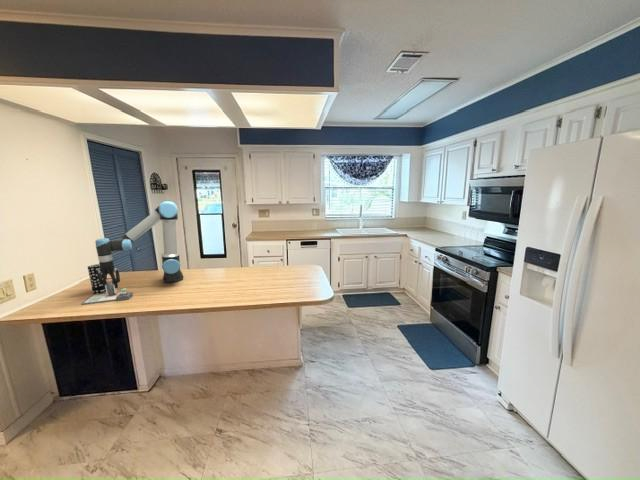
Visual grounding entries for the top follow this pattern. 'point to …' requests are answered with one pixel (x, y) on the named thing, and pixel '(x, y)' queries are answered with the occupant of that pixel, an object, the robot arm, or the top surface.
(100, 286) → the spotted tube
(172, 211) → the robot arm
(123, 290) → the button
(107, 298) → the picture board
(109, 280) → the grey upright cylinder
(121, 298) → the button housing
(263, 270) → the top surface
